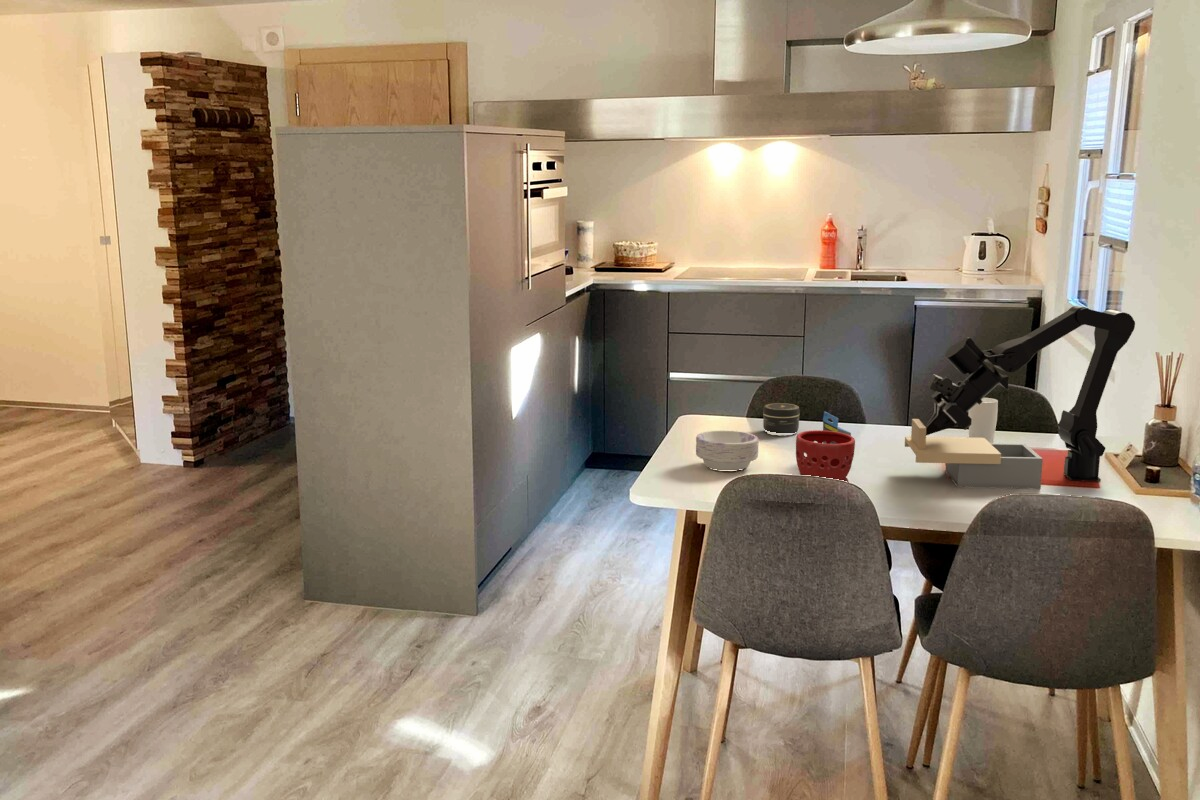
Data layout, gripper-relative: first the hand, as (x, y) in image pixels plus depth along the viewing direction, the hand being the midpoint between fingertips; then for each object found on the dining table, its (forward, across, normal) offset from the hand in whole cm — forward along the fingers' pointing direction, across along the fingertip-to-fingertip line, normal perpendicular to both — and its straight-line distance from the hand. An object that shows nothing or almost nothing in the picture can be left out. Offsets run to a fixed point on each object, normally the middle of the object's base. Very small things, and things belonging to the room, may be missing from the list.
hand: (923, 434), depth 245 cm
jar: (+29, -46, -14) cm, 56 cm away
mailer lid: (-1, 0, +8) cm, 8 cm away
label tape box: (+20, -14, -5) cm, 25 cm away
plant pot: (+24, +9, -9) cm, 27 cm away
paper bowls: (+40, -7, -24) cm, 47 cm away
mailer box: (-4, 0, +19) cm, 19 cm away
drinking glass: (-5, -20, +20) cm, 29 cm away
